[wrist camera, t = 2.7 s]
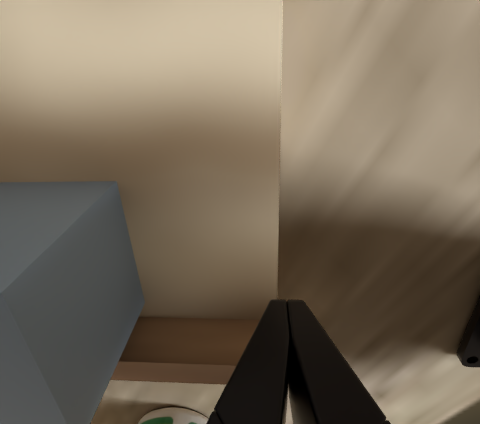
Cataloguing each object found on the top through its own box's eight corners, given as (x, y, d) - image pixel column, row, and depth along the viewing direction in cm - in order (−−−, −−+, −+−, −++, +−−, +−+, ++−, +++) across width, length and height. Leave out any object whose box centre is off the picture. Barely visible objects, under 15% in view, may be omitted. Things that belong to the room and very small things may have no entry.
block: (144, 302, 12) (79, 448, 8) (21, 300, 13) (-107, 437, 8) (116, 181, 10) (1, 292, 6) (-35, 182, 10) (-251, 287, 6)
